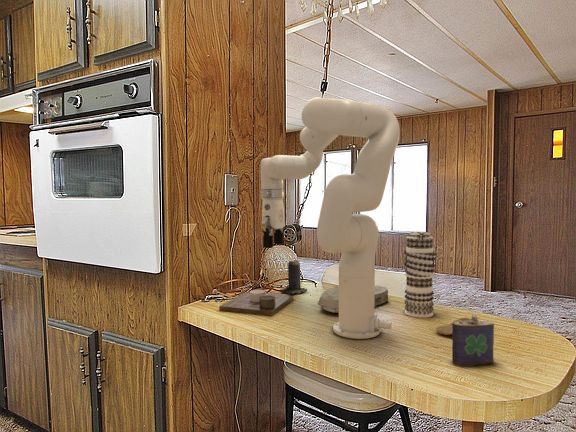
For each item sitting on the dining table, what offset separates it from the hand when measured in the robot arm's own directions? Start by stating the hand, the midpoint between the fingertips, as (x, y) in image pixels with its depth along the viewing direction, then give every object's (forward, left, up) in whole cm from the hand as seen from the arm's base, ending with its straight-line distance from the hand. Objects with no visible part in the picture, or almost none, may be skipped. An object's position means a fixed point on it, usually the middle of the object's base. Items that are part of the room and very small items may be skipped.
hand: (273, 245), depth 139 cm
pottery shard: (-58, +12, -20) cm, 62 cm away
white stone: (+4, +4, -18) cm, 19 cm away
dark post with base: (-2, -16, -20) cm, 25 cm away
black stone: (-2, +10, -18) cm, 21 cm away
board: (+4, +4, -20) cm, 20 cm away
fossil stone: (-26, -5, -20) cm, 33 cm away
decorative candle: (-47, -3, -20) cm, 51 cm away
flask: (-60, +31, -20) cm, 70 cm away
